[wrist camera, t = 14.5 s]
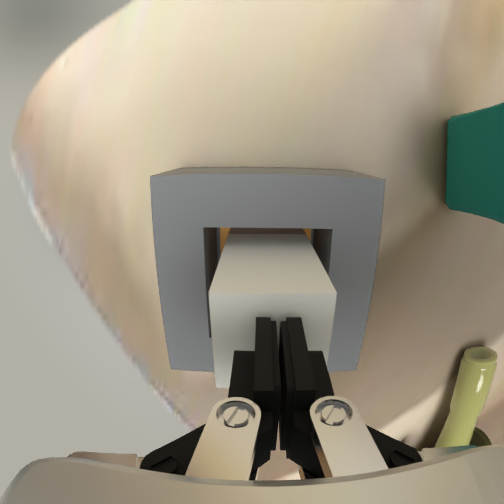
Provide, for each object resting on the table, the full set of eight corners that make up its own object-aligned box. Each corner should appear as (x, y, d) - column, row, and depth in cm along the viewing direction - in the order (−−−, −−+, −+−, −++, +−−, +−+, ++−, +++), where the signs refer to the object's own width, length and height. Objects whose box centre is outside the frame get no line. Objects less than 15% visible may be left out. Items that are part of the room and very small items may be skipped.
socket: (350, 170, 21) (385, 180, 15) (336, 320, 25) (356, 370, 19) (180, 168, 21) (150, 176, 15) (189, 319, 25) (171, 369, 19)
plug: (301, 226, 21) (336, 292, 11) (298, 290, 22) (323, 387, 12) (231, 225, 21) (208, 292, 11) (232, 289, 22) (216, 387, 13)
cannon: (429, 350, 26) (483, 429, 15) (507, 331, 26) (563, 388, 15) (378, 478, 34) (395, 538, 23) (445, 459, 34) (467, 511, 23)
